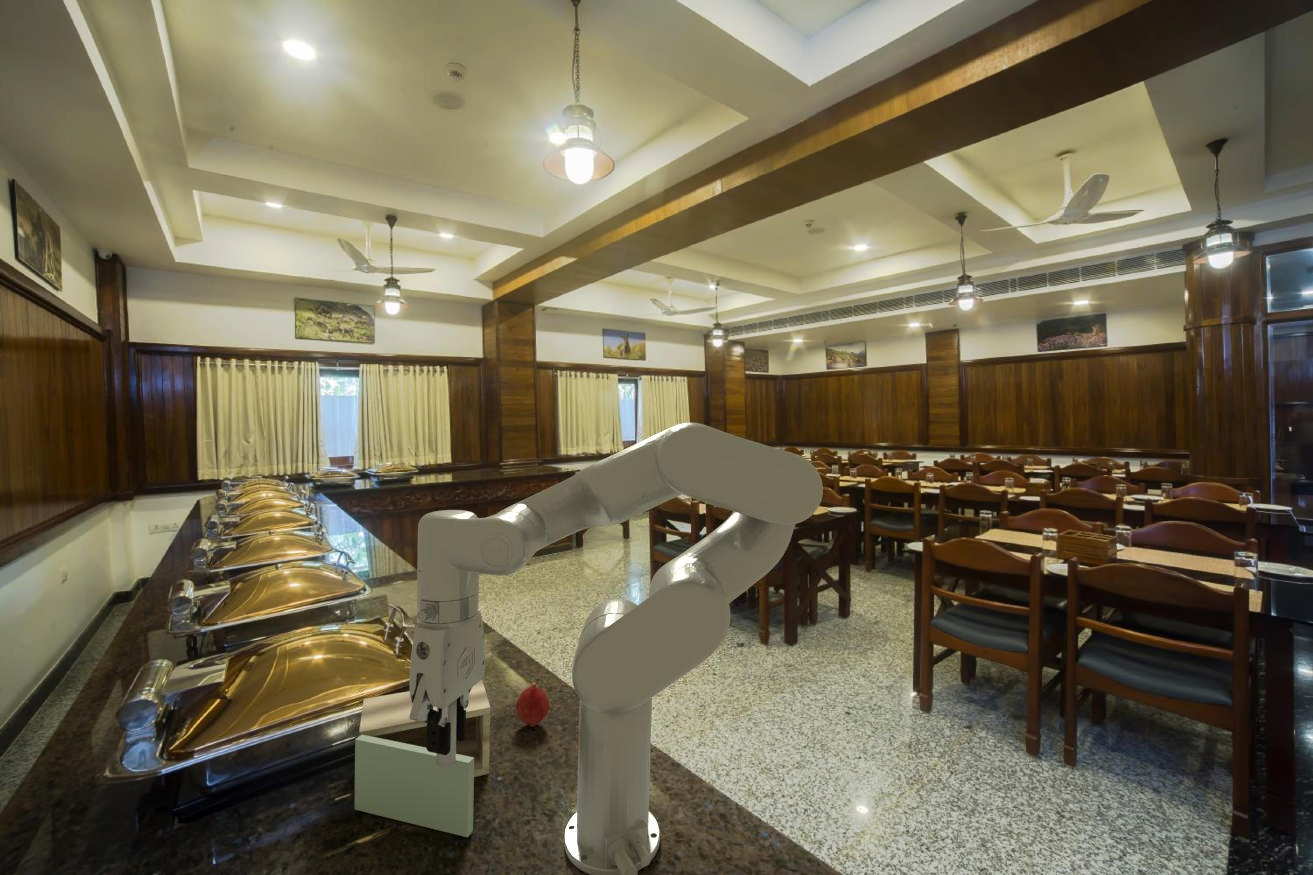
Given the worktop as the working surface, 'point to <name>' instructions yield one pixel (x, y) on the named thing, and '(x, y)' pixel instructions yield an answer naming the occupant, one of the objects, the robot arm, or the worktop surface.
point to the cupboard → (393, 723)
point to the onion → (532, 705)
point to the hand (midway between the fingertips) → (446, 743)
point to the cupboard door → (416, 782)
